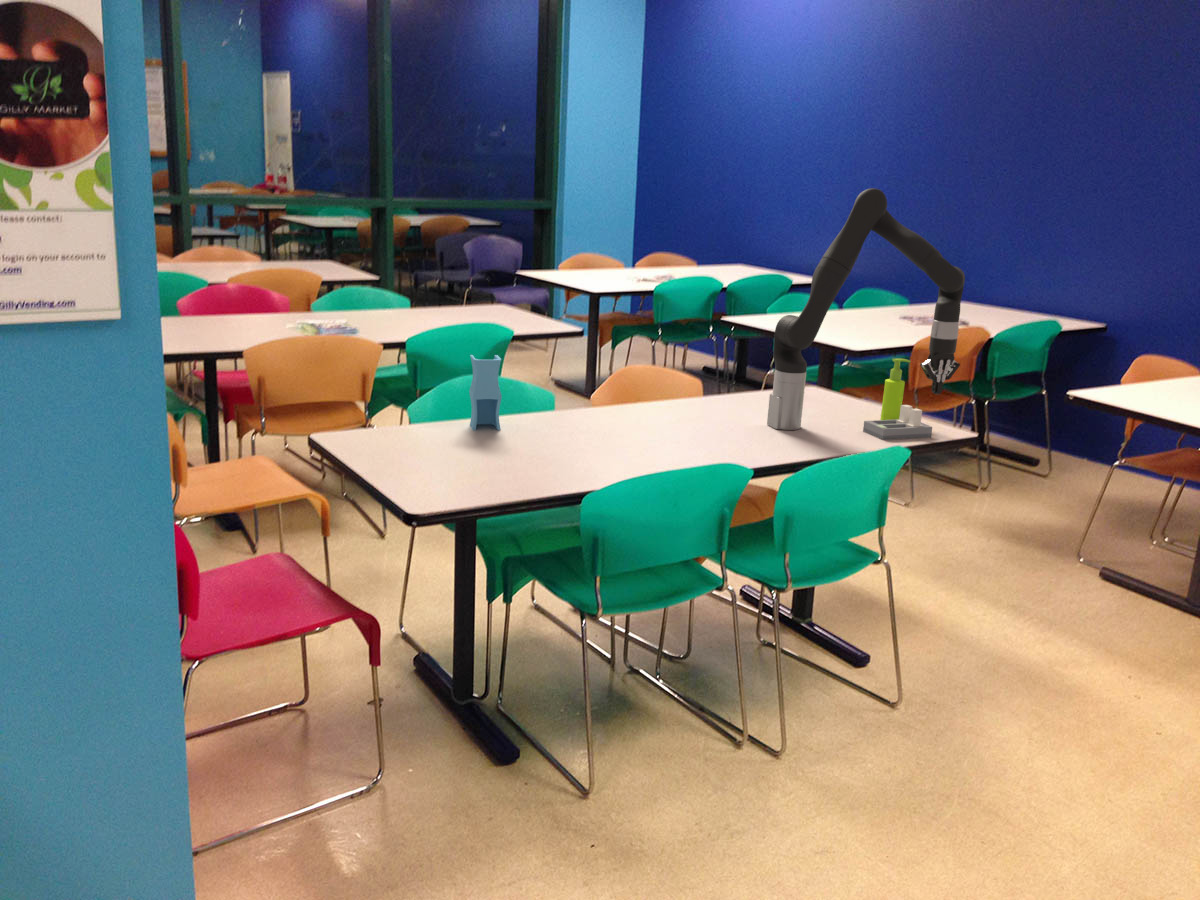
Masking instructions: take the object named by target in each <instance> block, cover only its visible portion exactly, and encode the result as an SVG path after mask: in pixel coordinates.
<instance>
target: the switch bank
mask: <svg viewBox="0 0 1200 900" xmlns="http://www.w3.org/2000/svg"><path fill="white" fill-rule="evenodd" d="M896 420H899V419H895V420H880V419H874V420H864V421H863V428H862V432H863V433H866V434H869V435H870V436H873V437H874V438H877V439H880V440H882V441H883V440H885V441H886V440H887V441H888V440H889V441H890V440H903V439H904V440H905V439H926V438H932V433H933V432H932V431H933V426H931V425H929V424H925V423H924V422H921V424H920V425H923V427H905V425H906V424H909V423H896Z"/></svg>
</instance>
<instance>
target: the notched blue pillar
mask: <svg viewBox="0 0 1200 900" xmlns="http://www.w3.org/2000/svg"><path fill="white" fill-rule="evenodd" d="M469 357H470V360H471V366H472V379H471V384H470V387H469V397H470V402H471V403H470V404H471V417H470V422H469V426H470V428H471V430H472V431H473V432H474V431H476V430H477V425H492V426H494V427H495V428H496V431H501V430H502V429H501V424H500V406H501V403H502V399H503V398H502V392H501V389H500V385H499V372H500V367H501V366H500V365H501V362H502V358H501V357H500V356H499V355H498V354H494V358H493V359H478V358H475V356H474V355H473V354H470V355H469Z"/></svg>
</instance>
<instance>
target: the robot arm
mask: <svg viewBox="0 0 1200 900" xmlns="http://www.w3.org/2000/svg"><path fill="white" fill-rule="evenodd" d="M887 200H888V199H887V196H886V194H885V192H883V191H882V190H881V189H878V188H875V187H872V188H871V187H870V188H867V189H865V190H863V191H861V192H860V193H859V194H858V195H857V197H856V198H855V200H854V202H853V203H854V204H853V207H852V209H851V211H850V213H849V215H848V218H847V219H846V221H845V223H844V224H843V227H842V228H841V229H840V231H839V233H838V234H837V235H836V237H835V238H834V239H833V240H832V242H831V243H830V245H829V247H828V248H827V249H826V251H825V252H824V254H822V257H821V259H820V261H819V262H818V264H817V266H815V267H816V268H815V269H814V271H813V274H812V278H811V285H810V286H811V287H810V294H809V298H808V300H807V303H806V304H805V306H804V307H803V309H802V311H801V313H799V316H798V315H792V314H786V315H784V316H783V317H781V318H780V319H779V320H778V322H777V323H776V326H775V329H774V337H773V338H774V339H773V361H774V366H775V367H774V376H773V384H772V385H773V386H772V393H770V394H769V399H768V410H767V421H766V426H767V425H768V426H770V427H771V428H773V429H775V430H783V431H795V430H799V429H801V427H802V416H803V408H804V407H803V406H804V396H805V389H806V388H805V387H806V381H807V379H806V378H807V369H808V364H807V361H806V359H804V356H803V355H802V351H803V350H805V349H808V347H810V346H811V345H812V343H813V342H814V341H815V338H816V337H817V335H818V333H819V330H820V328H821V326H822V325H823V322H824V321H825V320H824V319H825V318H826V316H827V313H828V311H829V310H830V308H831V306H832V304H833V302H834V301H835V299H836V298H837V295H838V294H839V292H840V290H841V288H842V287H843V286H844V284H845V282H846V280H847V278H848V277H849V275H850V273H852V270H853V268H854V266H855V265H856V262H857V260H858V257H859V255H860V253H861V250H862V248H863V245H864V243H865V241H866V239H867V237H868V236H869V234H870V233H871V231H872V232H874V233H876V234H877V235H879V236H880V237H882V239H884V240H886V241H887V242H888V243H889V244H891V245H892V246H893V247H894V248H895V249H897V250H898V251H899V252H900V253H901V254H902V255H904V256H905V257H906V258H907V259H908V260H909V261H910V262H912V263H913V264H914V265H915V266H916V267H917V268H918V269H920V270H921V271H923V272H924V273H925V274H926V275H927V276H928V277H929V278H930V280H931V281H932V282H933V283H934V284H935V285H936V286H937V287H938V293H937V294H938V296H937V301H936V304H935V307H934V312H933V313H934V314H933V315H934V316H933V320H932V325H931V329H930V338H929V344H928V345H929V347H928V350H929V351H928V352H929V355H927V360H925V361H924V362H921V363H920V365H919V366H920V367H921V369H922V371H923V372H924V375H925V376H926V378H927V379H928V380H931V382H932V383H931V392H932V394H934V395H941V394H942V392H943V387H944V382H945V381H946V380H947V381H948V380H950V379H951V378H952V377H953V375H955V373H956V371H958V369H959V368H960V367H961V363H959V362H957V361H956V360H955V353H956V352H957V344H958V339H959V338H958V336H959V329H960V328H959V327H960V326H959V325H960V323H959V321H960V315H961V304H962V303H961V302H962V298H963V293H964V288H965V287H964V286H965V283H966V282H965V281H966V276H965V272H964V271H963V270H962V269H961V268H960V267H958V266H956V265H955V266H954V265H953V264H952V263H950V262H949V261H948V260H947V259H945V257H943V255H942V253H941V252H940V251H939V250H938V249H937V248H936V247H934V246H933V245H932V244H931V243H930V242H929V241H928V240H926V238H924V237H923V236H921V235H920V234H918V233H917V232H915V231H913V230H911V229H909V228H907V227H906V226H905V225H903V224H901V222H900V221H898V220H896V219H895V218H894V216H892V214H891V213H890V212H889V211H888V210H887V208H888V201H887Z"/></svg>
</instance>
